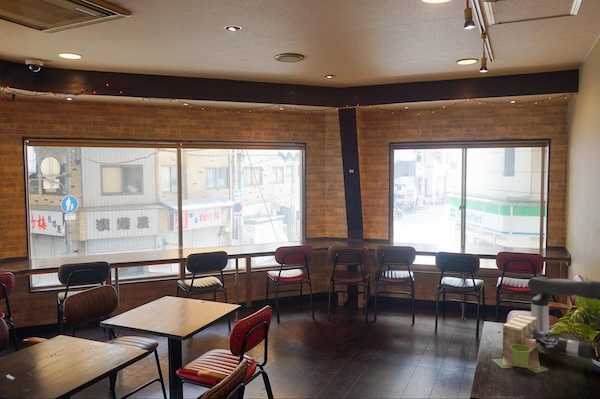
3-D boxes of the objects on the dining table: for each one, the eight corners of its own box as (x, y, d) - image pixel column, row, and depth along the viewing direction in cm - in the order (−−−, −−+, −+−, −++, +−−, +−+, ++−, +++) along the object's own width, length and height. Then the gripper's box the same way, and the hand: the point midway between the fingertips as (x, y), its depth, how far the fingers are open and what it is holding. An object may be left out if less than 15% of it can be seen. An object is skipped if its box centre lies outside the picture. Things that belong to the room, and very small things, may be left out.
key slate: (521, 339, 253) (521, 331, 253) (533, 341, 249) (533, 334, 249) (519, 341, 251) (519, 333, 250) (531, 343, 246) (531, 336, 246)
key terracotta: (523, 344, 246) (523, 336, 245) (535, 347, 241) (536, 339, 241) (520, 346, 243) (521, 338, 242) (533, 349, 239) (533, 341, 238)
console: (519, 342, 264) (519, 314, 264) (536, 346, 258) (537, 317, 257) (502, 355, 246) (503, 325, 245) (520, 360, 240) (521, 328, 239)
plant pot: (534, 368, 230) (534, 351, 229) (514, 368, 230) (515, 351, 230) (525, 361, 239) (525, 344, 239) (506, 361, 239) (507, 344, 239)
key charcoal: (533, 336, 256) (533, 329, 256) (545, 339, 252) (545, 332, 252) (530, 338, 254) (530, 331, 253) (542, 341, 249) (542, 334, 249)
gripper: (573, 336, 240) (536, 328, 252) (565, 343, 231) (528, 335, 243) (572, 350, 241) (536, 342, 253) (565, 358, 231) (528, 349, 243)
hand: (532, 339), depth 248 cm, fingers closed
